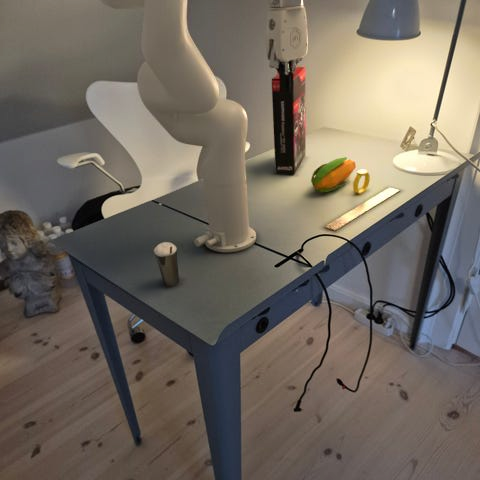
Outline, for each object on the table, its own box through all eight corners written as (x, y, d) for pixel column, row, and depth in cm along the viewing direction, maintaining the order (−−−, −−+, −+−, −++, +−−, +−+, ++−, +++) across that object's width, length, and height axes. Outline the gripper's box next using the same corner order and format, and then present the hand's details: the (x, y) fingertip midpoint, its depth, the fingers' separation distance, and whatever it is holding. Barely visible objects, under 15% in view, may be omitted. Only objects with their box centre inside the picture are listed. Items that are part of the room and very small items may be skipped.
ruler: (335, 231, 109) (335, 230, 109) (324, 227, 111) (324, 226, 111) (399, 191, 125) (399, 190, 125) (389, 188, 127) (389, 187, 127)
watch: (362, 187, 129) (364, 166, 125) (370, 189, 127) (373, 168, 123) (350, 194, 126) (351, 173, 122) (358, 196, 124) (360, 175, 120)
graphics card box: (294, 175, 139) (295, 77, 122) (273, 174, 141) (270, 78, 124) (305, 157, 152) (307, 65, 135) (285, 156, 154) (285, 66, 137)
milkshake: (169, 292, 94) (160, 250, 87) (157, 282, 97) (148, 240, 91) (188, 284, 95) (181, 242, 89) (175, 274, 99) (168, 233, 93)
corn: (305, 167, 123) (344, 146, 134) (302, 193, 128) (340, 171, 139) (327, 174, 119) (366, 152, 130) (324, 201, 124) (362, 177, 135)
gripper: (276, 4, 93) (277, 100, 105) (320, -3, 101) (317, 87, 113) (250, 4, 98) (254, 96, 109) (294, -3, 106) (294, 84, 117)
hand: (286, 91), depth 111 cm, fingers closed
